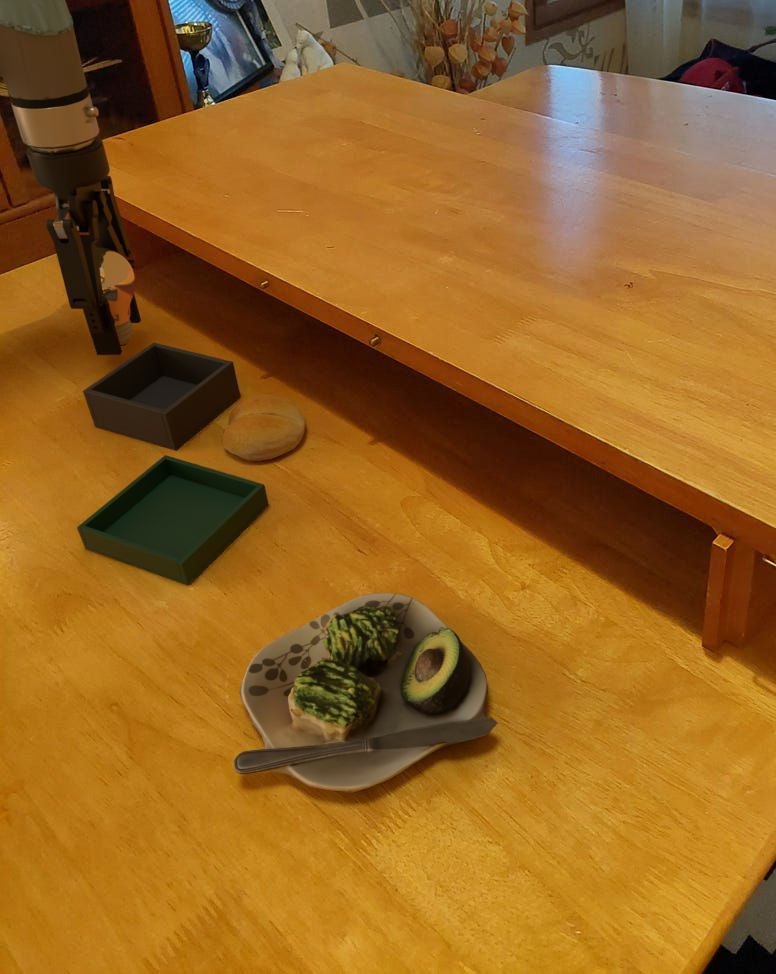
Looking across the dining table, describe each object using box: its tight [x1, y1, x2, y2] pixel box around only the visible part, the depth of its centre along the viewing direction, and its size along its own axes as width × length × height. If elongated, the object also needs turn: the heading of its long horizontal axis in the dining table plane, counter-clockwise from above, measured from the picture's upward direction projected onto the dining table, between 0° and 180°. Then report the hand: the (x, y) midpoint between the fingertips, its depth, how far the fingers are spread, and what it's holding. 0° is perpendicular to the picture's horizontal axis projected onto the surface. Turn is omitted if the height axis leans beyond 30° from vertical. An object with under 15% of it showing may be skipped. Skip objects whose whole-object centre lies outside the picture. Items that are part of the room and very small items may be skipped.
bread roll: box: [221, 393, 306, 462], centre depth 97 cm, size 8×9×4 cm
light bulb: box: [96, 248, 137, 347], centre depth 107 cm, size 7×7×12 cm
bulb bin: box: [82, 342, 241, 451], centre depth 101 cm, size 11×11×5 cm
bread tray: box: [76, 454, 270, 586], centre depth 86 cm, size 12×12×3 cm
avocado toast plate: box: [233, 592, 499, 794], centre depth 68 cm, size 19×18×5 cm
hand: (119, 336), depth 110 cm, fingers closed on light bulb, 7 cm apart
